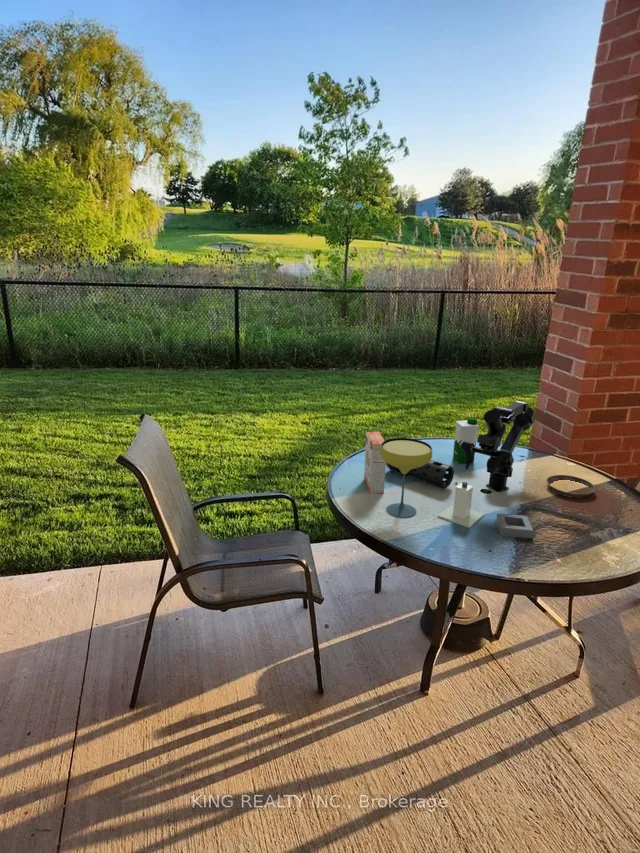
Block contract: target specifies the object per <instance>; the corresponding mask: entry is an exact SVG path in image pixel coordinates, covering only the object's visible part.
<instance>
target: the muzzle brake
mask: <svg viewBox="0 0 640 853" xmlns="http://www.w3.org/2000/svg"><path fill="white" fill-rule="evenodd" d="M385 468H388V469H389V470H390V471H392V472H395V473H398V474H399V473H400V475H401V474H402V475H401V476H403V473H402V472H401V471H400V470H399V468H397V467H394V466H392V465H390V464H388V463H387V462H386V464H385ZM454 473H455V470H454V467H453V466H452V465H448V464H446V463H445V464H444V463H442V462H439V461H436V460H432V459H431V460H430V461H429V462H428V463H427V464H426V465H424V466H421V467H418V468H414V469H411V470H410V471H409V472H408V473H406V474H405V477H406V476H408V477H412V478H414V479H417V480H419V481H420V482H421V481H422V482H424V483H426V484H429V485H432V486H434V487H437V488H440V489H443V490H446V489H448V487H450V485H451V484H452V482H453V479H454V476H455V474H454Z"/></svg>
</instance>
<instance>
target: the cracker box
mask: <svg viewBox="0 0 640 853" xmlns="http://www.w3.org/2000/svg"><path fill="white" fill-rule="evenodd" d="M384 441H385V439H384V438H383V436H382V434H381V432H380V431H366V432H365V449H364V450H365V451H364V474H363V475H364V476H363V479H364V482H365V484H366V487H367V489H368V491H369V494H370V493H375V494H384V493H385V482H386V481H385V479H386V465H385V464H386V461H384V460H383V459H382V457H381V455H380V446H381V444H382V443H383V442H384Z"/></svg>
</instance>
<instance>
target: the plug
mask: <svg viewBox="0 0 640 853" xmlns="http://www.w3.org/2000/svg"><path fill="white" fill-rule="evenodd" d="M473 490H474V486H473V485H470V484H468V482H466V481H462V482H461V483H460V484H458V485H457V486H455V492H454V499H453V504H454V508H453V515H454V516H457V517H460V518H462V519H465V518H466V517H467V516H469V515H470V510H471V506H472V499H473V498H472V497H473V493H474V492H473Z"/></svg>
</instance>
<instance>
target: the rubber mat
mask: <svg viewBox="0 0 640 853" xmlns="http://www.w3.org/2000/svg"><path fill="white" fill-rule="evenodd" d="M453 508H454V503H453V504H451V505H450V506H449V507H447V508H446V509H444V510H443V511H442V512H440V513H439V514H438V515H437V518H440V519H443V520H446V521H449V522H451V523H454V524H457V525H459V526H461V527H465V528H468V529H471V528H472V527H473V526H474V525H475V524H477V523H478V521H480V520H481V519H482V518H483V517H484V516H485V514H484V513H481V512H478V511H476V510H472V509H470V515H469V516H467V517H466V518H465V519H462V518H460V517H457V516H454V515H453Z"/></svg>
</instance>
